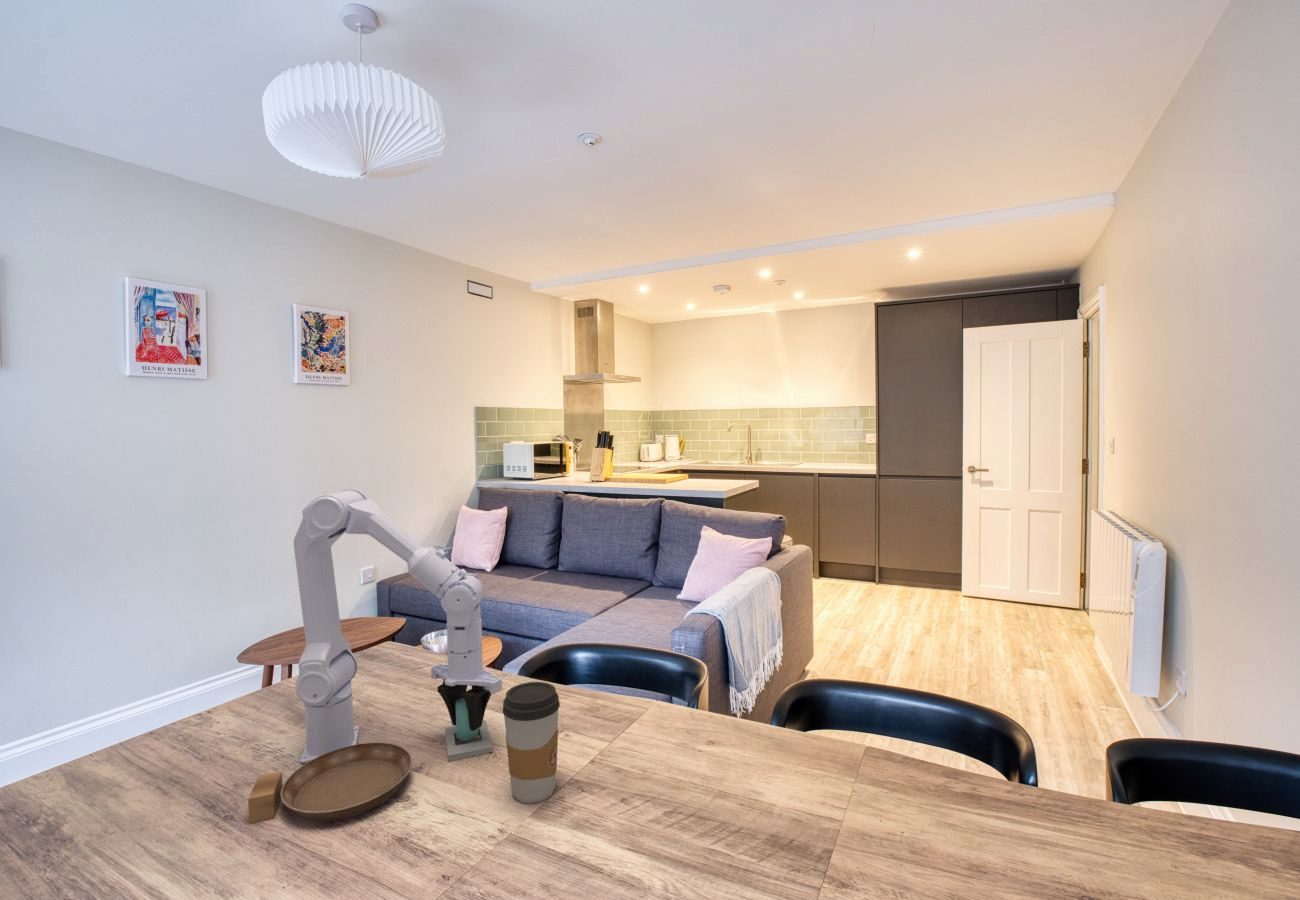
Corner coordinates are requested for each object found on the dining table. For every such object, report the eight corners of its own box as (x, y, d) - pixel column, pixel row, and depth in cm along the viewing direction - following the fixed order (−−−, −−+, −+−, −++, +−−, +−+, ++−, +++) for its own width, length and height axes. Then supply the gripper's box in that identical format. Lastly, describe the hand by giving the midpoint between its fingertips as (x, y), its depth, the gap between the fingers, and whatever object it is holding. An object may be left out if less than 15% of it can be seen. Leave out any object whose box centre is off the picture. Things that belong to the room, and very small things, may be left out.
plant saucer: (363, 838, 81) (363, 816, 81) (250, 824, 85) (249, 803, 84) (435, 765, 99) (434, 746, 98) (338, 756, 102) (338, 738, 102)
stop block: (259, 799, 90) (258, 775, 90) (283, 794, 91) (282, 771, 91) (249, 823, 84) (248, 798, 84) (274, 818, 85) (273, 793, 85)
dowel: (455, 732, 106) (454, 698, 106) (477, 728, 107) (476, 695, 107) (457, 742, 102) (456, 707, 102) (479, 738, 104) (478, 703, 103)
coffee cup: (550, 811, 85) (547, 707, 85) (495, 805, 87) (491, 703, 87) (569, 777, 94) (567, 682, 93) (519, 772, 95) (516, 678, 95)
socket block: (445, 733, 108) (445, 727, 108) (486, 725, 111) (485, 719, 111) (448, 761, 99) (448, 755, 99) (492, 752, 101) (492, 746, 101)
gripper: (416, 648, 104) (418, 726, 105) (480, 663, 97) (482, 746, 98) (447, 635, 110) (449, 709, 111) (509, 648, 103) (511, 726, 104)
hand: (467, 725), depth 105 cm, fingers closed on dowel, 4 cm apart
